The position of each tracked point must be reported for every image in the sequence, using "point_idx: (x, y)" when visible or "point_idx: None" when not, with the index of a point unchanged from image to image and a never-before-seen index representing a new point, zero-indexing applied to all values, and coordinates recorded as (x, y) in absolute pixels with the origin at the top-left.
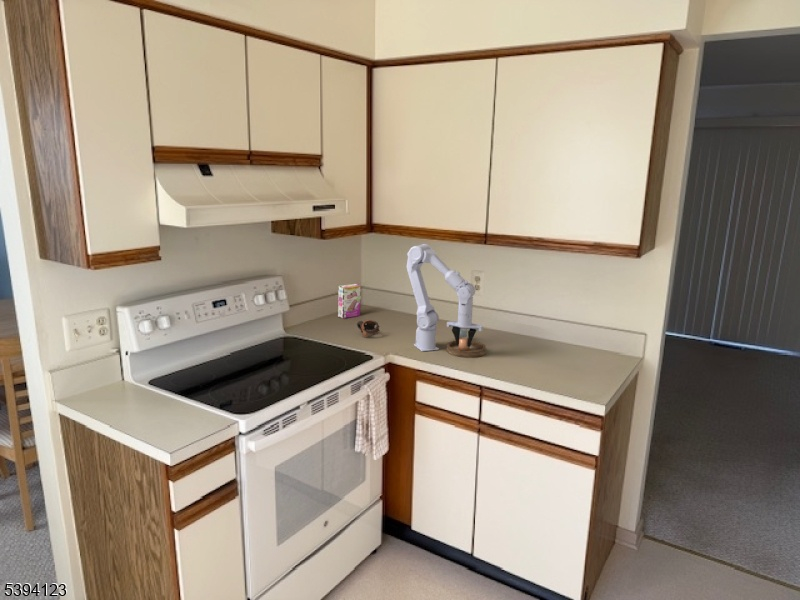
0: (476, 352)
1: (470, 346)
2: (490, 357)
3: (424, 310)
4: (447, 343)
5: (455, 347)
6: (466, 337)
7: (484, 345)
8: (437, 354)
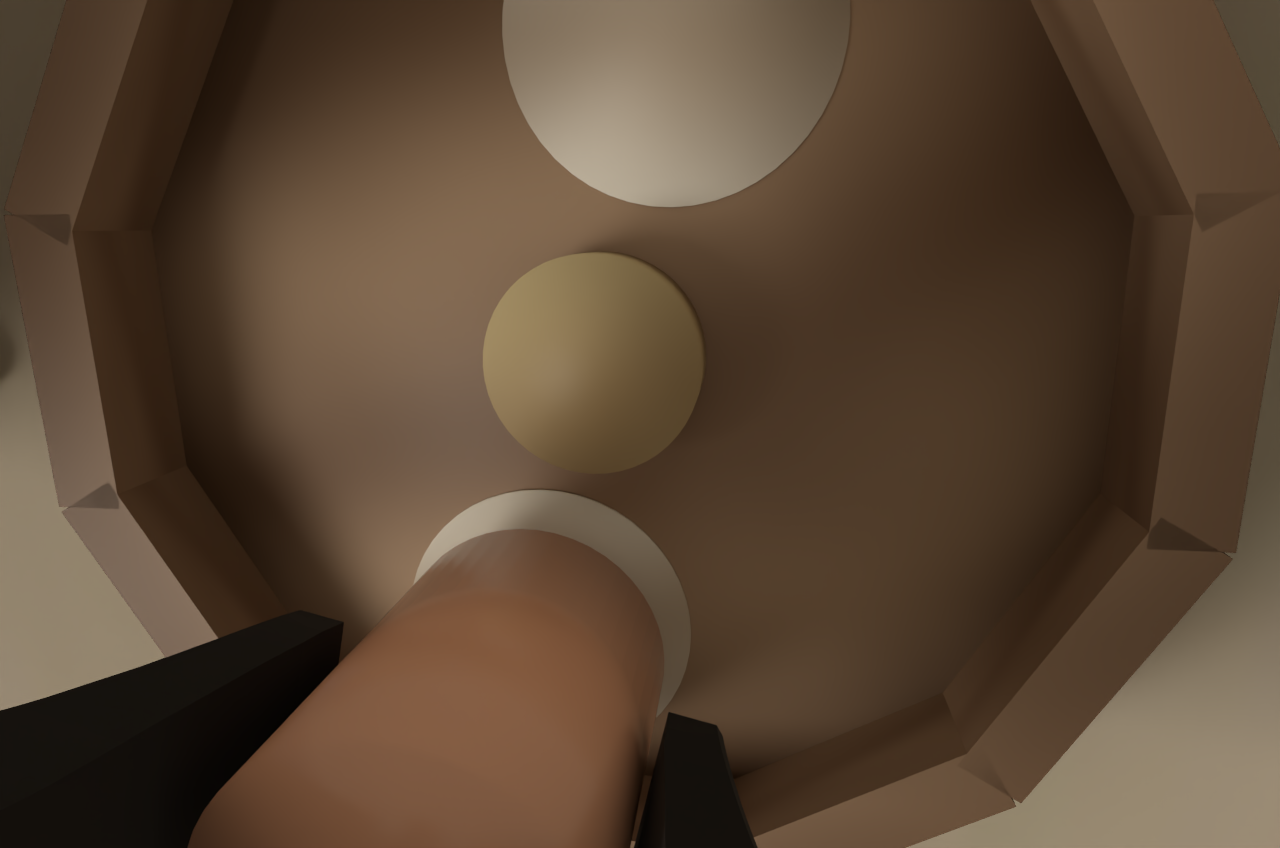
0: (901, 825)
1: (726, 56)
2: (1263, 699)
3: None
4: (16, 267)
5: (307, 269)
6: (481, 780)
7: (1255, 192)
8: (52, 670)
